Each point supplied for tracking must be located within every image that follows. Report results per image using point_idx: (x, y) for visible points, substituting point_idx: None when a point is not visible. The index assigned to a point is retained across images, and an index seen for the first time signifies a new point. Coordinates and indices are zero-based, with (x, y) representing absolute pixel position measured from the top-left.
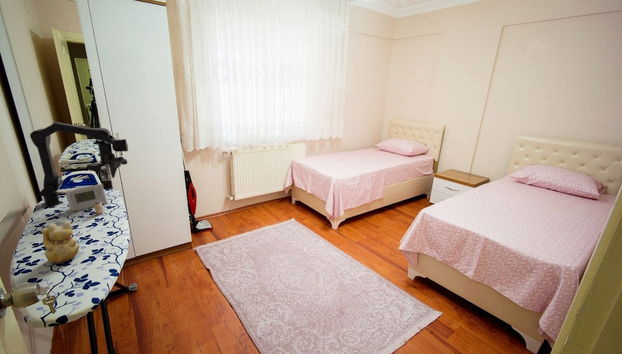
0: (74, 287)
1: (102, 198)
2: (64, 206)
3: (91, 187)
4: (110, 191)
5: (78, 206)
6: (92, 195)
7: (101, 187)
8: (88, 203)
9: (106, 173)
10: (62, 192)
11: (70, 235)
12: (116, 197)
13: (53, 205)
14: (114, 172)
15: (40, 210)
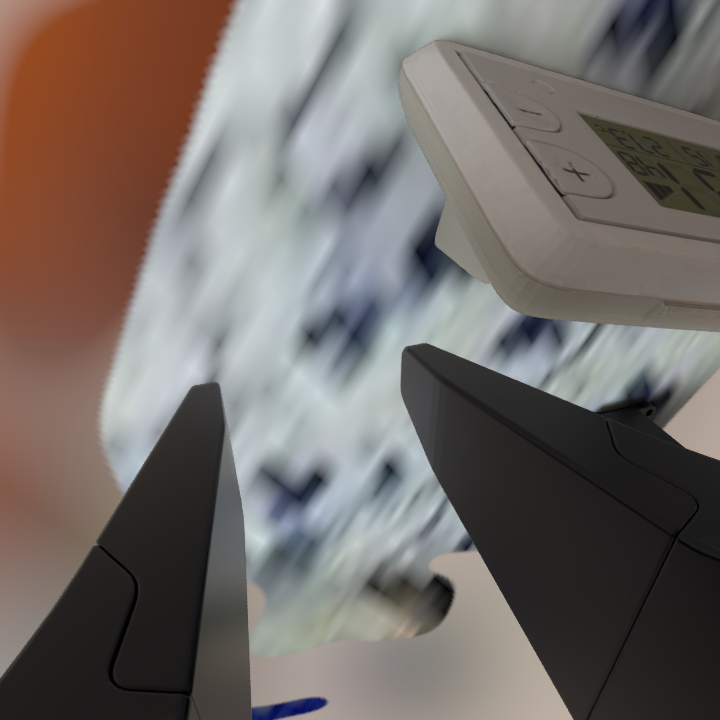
0: None
1: (496, 78)
2: (612, 341)
3: (707, 252)
4: (135, 457)
5: (717, 128)
6: (634, 158)
7: (549, 200)
8: (639, 110)
9: (609, 460)
10: (417, 616)
11: None
12: (184, 188)
13: (627, 407)
14: (174, 528)
15: (703, 377)
